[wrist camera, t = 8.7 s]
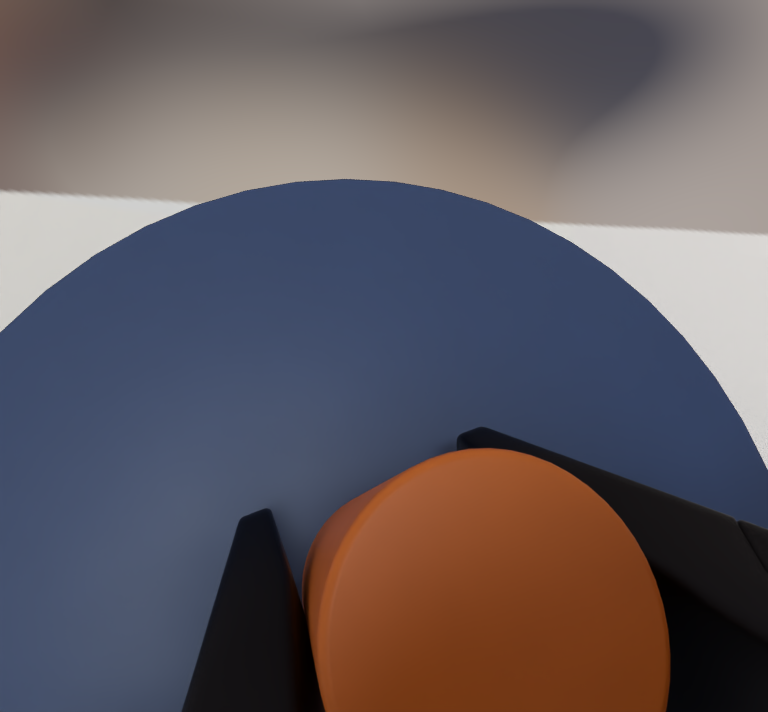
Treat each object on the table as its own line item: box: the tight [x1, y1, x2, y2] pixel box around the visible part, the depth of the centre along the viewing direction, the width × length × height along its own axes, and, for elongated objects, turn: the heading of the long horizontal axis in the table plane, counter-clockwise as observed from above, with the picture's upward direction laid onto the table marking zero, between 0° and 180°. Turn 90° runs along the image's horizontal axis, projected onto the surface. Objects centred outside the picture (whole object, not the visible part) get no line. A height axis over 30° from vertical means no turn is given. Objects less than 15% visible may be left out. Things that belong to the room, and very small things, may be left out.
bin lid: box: [0, 179, 768, 712], centre depth 7 cm, size 15×15×6 cm
